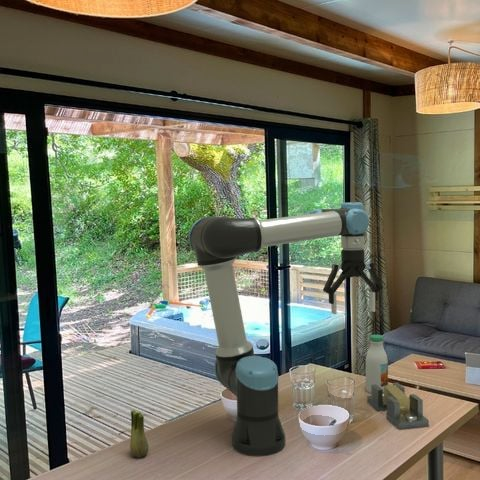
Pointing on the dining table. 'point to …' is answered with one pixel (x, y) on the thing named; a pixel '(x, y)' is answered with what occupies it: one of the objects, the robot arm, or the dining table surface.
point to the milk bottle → (376, 364)
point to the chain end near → (409, 420)
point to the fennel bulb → (138, 435)
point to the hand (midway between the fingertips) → (353, 312)
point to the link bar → (398, 398)
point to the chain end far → (380, 397)
